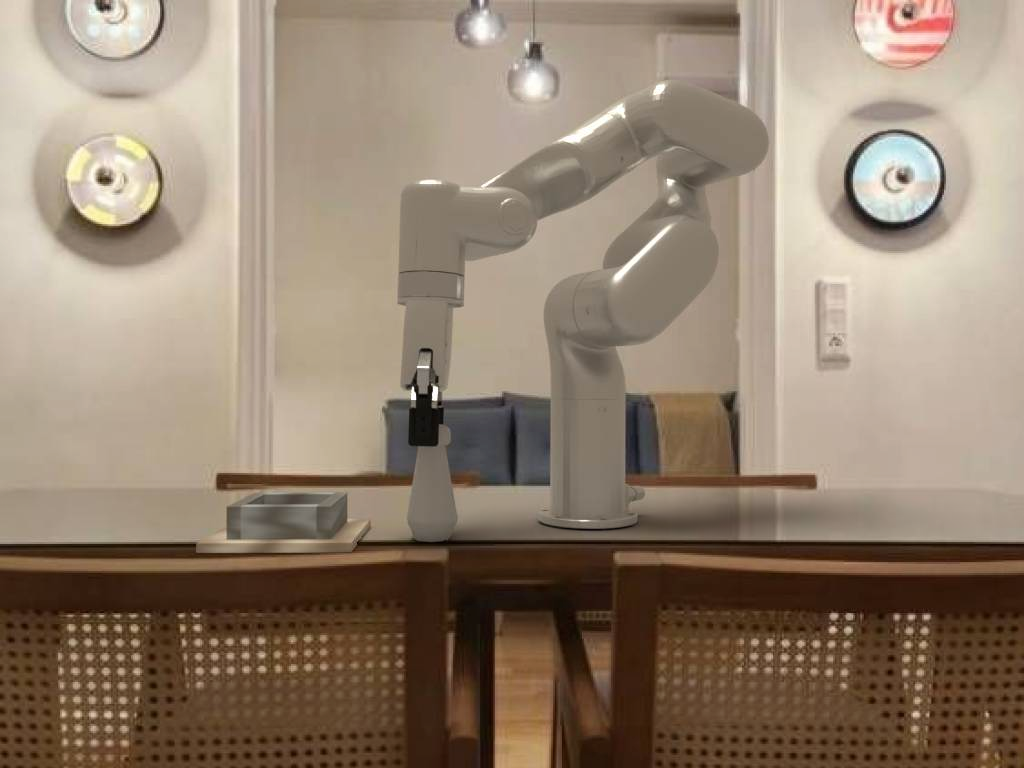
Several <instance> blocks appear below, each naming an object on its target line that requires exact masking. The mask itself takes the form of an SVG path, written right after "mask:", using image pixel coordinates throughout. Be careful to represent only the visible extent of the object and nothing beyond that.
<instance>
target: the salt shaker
mask: <svg viewBox="0 0 1024 768" xmlns="http://www.w3.org/2000/svg"><path fill="white" fill-rule="evenodd" d="M451 440H452V432H451V428H449V426H448V425H445V424H443V425H442V424H439V442H438V445H437V446H435V447H429V446H417V447H418V448H417V454H416V461H415V467H414V471H413V477H412V478H413V479H412V484H411V485H412V486H411V489H410V497H409V503H408V507H407V515H406V518H407V519H406V521H407V524H408V527H409V528H410V531H411V534H412V537H413V539H414V540H416V541H418V542H423V543H424V542H426V543H427V542H429V543H434V542H435V543H436V542H444V540H446V541H448V540H449V539H450V537H451V535H452V533H453V530H454V529H455V527H456V525H457V523H458V517H459V516H458V513H457V506H456V500H455V499H456V498H455V495H454V488H453V483H452V477H451V476H452V475H451V471H450V465H449V460H448V455H447V449H446V446H447V445H450V444H451Z"/></svg>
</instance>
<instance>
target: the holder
mask: <svg viewBox="0 0 1024 768" xmlns="http://www.w3.org/2000/svg"><path fill="white" fill-rule="evenodd" d="M371 523H372V521H371V518H348V492H347V491H346V492H345V491H344V492H335V491H334V492H330V491H329V492H254V493H251V494H249V495H247V496H246V497H244V498H242V499H239V500H238V501H235V502H232V503H231V504H229V505H227V506H226V526H224V527H222V528H221V529H218V530H217V531H216V532H214V533H212V534H210V535H208V536H207V537H205V538H203V539H201V540H200V541H198V542H196V545H195V546H196V547H195V553H196V554H245V553H246V554H256V553H258V554H259V553H260V554H262V553H263V554H264V553H265V554H266V553H269V554H270V553H271V554H272V553H273V554H274V553H275V554H276V553H277V554H278V553H280V554H281V553H283V554H285V553H288V554H291V553H295V554H297V553H299V554H301V553H304V554H305V553H319V554H320V553H352V552H353V551H354V549H355V548H356V547H357V546H358V544H357V542H358V541H359V540H360V538H361V537H362V536H363V535H364V534H365V533H366V534H367V533H368V531H369V530H370V528H371V527H372V525H371ZM366 534H365V535H366ZM365 535H364V536H365ZM364 536H363V537H364ZM360 541H361V540H360ZM360 541H359V542H360Z"/></svg>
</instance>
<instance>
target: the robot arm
mask: <svg viewBox="0 0 1024 768" xmlns="http://www.w3.org/2000/svg"><path fill="white" fill-rule="evenodd" d="M769 142H770V139H769V133H768V130H767V127H766V125H765V123H764V122H763V120H762V119H761V118H760V117H759V116H758V115H757V114H756V112H754V111H753V110H751V109H750V108H748V107H746V106H744V104H743V105H742V104H741V103H739V102H736V101H733V100H732V99H729V98H727V97H725V96H722V95H720V94H718V93H715V92H714V91H711V90H709V89H706V88H704V87H701V86H698V85H697V84H696V85H695V84H693V83H690V82H686V81H682V80H679V79H678V80H677V79H665V80H662V81H658V82H656V83H654V84H652V85H649V86H647V87H645V88H643V89H640V90H638V91H636V92H634V93H630V94H629V95H627V96H624V97H622V98H621V99H619V100H617V101H616V102H613V103H612V104H610V105H609V106H607V107H605V108H604V109H602V110H601V111H599V112H597V113H596V114H594V115H592V116H591V117H589V118H587V119H586V120H585V121H583V122H582V123H580V124H579V125H576V126H575V127H574V128H572V129H571V130H569V131H568V132H566V133H563V134H562V135H561V136H559V137H557V138H556V139H554V140H553V141H551V142H549V143H548V144H546V145H544V146H543V147H541V148H539V149H538V150H537V151H535V152H533V153H532V154H530V155H529V156H527V157H526V158H525V159H523V160H521V161H520V162H518V163H517V164H515V165H513V166H512V167H510V168H509V169H507V170H504V172H502V173H500V174H498V175H497V176H495V177H493V178H491V179H490V180H488V181H486V182H485V183H484V184H481V185H479V186H468V185H466V186H465V185H459V184H457V183H454V182H452V181H448V180H445V179H444V180H443V179H429V178H428V179H426V178H425V179H417V180H413V181H410V182H409V183H407V184H405V186H404V187H403V189H402V191H401V194H400V202H399V203H400V204H399V205H400V206H399V234H398V235H399V237H398V239H399V240H398V243H399V244H398V245H399V246H398V271H397V272H398V273H397V305H399V306H400V305H401V306H404V307H405V310H404V319H403V330H402V331H403V332H402V333H403V334H402V347H401V349H402V353H401V366H400V367H401V369H400V385H399V386H400V388H401V389H402V390H403V391H405V392H406V391H408V392H409V391H410V392H411V398H410V407H409V409H408V439H407V442H408V445H409V446H411V447H419V446H429V447H435V446H437V445H438V442H439V424H442V425H444V421H445V420H444V414H445V411H444V410H445V407H443V392H444V391H446V390H447V389H448V384H449V378H450V377H449V376H450V369H451V361H452V360H451V359H452V345H453V344H452V343H453V325H454V324H453V318H454V309H456V308H457V309H458V308H462V307H464V306H465V305H464V304H465V276H466V275H465V272H466V271H465V270H466V262H473V261H479V260H482V259H486V258H491V257H494V256H495V257H496V256H499V255H503V254H508V253H511V252H515V251H518V250H519V249H521V248H522V247H524V246H525V245H527V244H528V242H530V241H531V239H532V238H533V237H534V235H535V233H536V230H537V227H538V221H540V220H543V219H545V218H547V217H550V216H553V215H555V214H558V213H561V212H564V211H566V210H569V209H571V208H574V207H577V206H579V205H580V204H583V203H584V202H586V201H588V200H590V199H592V198H593V197H596V196H597V195H598V194H600V193H601V192H602V191H604V190H605V189H607V188H608V187H610V186H611V185H612V184H613V183H615V182H616V181H618V180H619V179H621V178H622V177H623V176H626V175H627V174H628V173H630V172H632V171H633V170H635V169H637V167H639V166H640V165H642V164H643V163H645V162H647V161H648V160H650V159H652V158H655V157H656V161H655V162H656V165H655V167H656V168H655V169H656V170H655V171H656V177H657V188H658V191H657V198H656V199H655V201H654V202H653V203H652V204H651V205H650V206H649V207H648V208H647V209H646V210H645V211H644V212H643V213H642V214H641V215H640V216H638V217H637V218H636V219H635V220H634V221H633V222H632V223H631V224H630V225H629V226H628V227H626V228H625V229H624V230H623V231H622V232H621V233H619V235H618V236H616V237H615V239H614V240H613V241H612V242H611V244H610V245H609V246H608V247H607V250H606V251H605V254H604V257H603V261H602V269H596V270H590V271H586V272H585V271H584V272H579V273H576V274H572V275H569V276H567V277H565V278H563V279H562V280H560V281H558V282H557V283H556V284H555V285H554V286H553V287H552V288H551V290H550V291H549V293H548V295H547V297H546V298H545V302H544V306H543V324H544V325H543V326H544V332H545V337H546V343H547V348H548V354H549V355H548V356H549V366H550V367H549V369H550V446H549V447H550V450H549V451H550V456H549V457H550V467H549V468H550V469H549V471H550V473H549V476H550V477H549V478H550V479H549V480H550V482H549V483H550V485H549V487H550V490H549V491H550V493H549V495H550V496H549V497H550V498H549V499H550V500H549V503H550V505H549V507H545V508H542V509H540V510H539V511H538V512H537V519H538V521H539V522H540V523H542V524H544V525H547V526H553V527H559V528H567V529H582V530H583V529H586V530H587V529H588V530H595V529H596V530H598V529H599V530H600V529H601V530H603V529H604V530H605V529H615V528H616V529H617V528H624V527H625V528H626V527H629V526H633V525H635V524H637V522H638V513H637V512H636V511H635V510H633V509H630V508H629V504H630V503H631V502H637V501H641V500H643V499H644V498H645V496H646V492H645V489H644V488H643V487H642V486H641V485H634V486H630V485H629V483H626V406H627V405H626V400H627V399H626V398H627V394H626V393H627V388H626V387H627V386H626V376H625V371H624V368H623V364H622V360H621V358H620V356H619V353H618V350H617V348H616V347H629V346H630V347H631V346H639V345H642V344H646V343H649V342H651V341H652V340H654V339H655V338H656V337H658V336H660V334H662V333H663V332H664V331H666V329H667V328H668V327H669V326H670V325H671V324H672V323H673V322H674V321H675V320H676V319H677V318H678V317H679V316H680V315H681V314H682V313H683V312H684V311H685V310H686V309H687V308H688V307H689V306H690V305H691V304H692V303H693V302H694V300H696V299H697V297H699V295H700V294H702V292H703V291H704V290H705V289H706V288H707V286H708V285H709V284H710V282H711V281H712V279H713V277H714V276H715V273H716V270H717V268H718V262H719V259H720V258H719V257H720V248H719V247H720V246H719V243H718V239H717V236H716V233H715V231H714V230H713V228H712V216H711V212H710V208H709V203H708V197H707V193H706V192H707V190H706V187H707V186H709V185H711V184H712V185H713V184H715V183H720V182H723V181H727V180H729V179H733V178H736V177H741V176H744V175H747V174H749V173H751V172H753V171H754V170H756V169H757V168H758V167H759V166H760V165H762V163H763V161H764V160H765V158H766V156H767V154H768V152H769V151H768V150H769V144H770V143H769Z"/></svg>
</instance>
